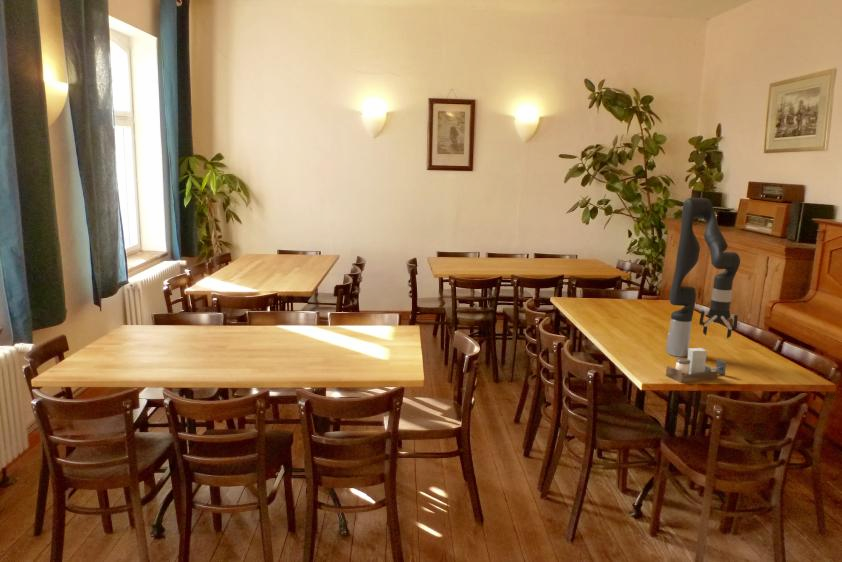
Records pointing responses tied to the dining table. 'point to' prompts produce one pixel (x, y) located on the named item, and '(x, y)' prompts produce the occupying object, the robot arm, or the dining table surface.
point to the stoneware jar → (683, 365)
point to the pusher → (717, 367)
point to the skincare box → (697, 360)
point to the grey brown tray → (683, 378)
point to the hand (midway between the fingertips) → (716, 336)
